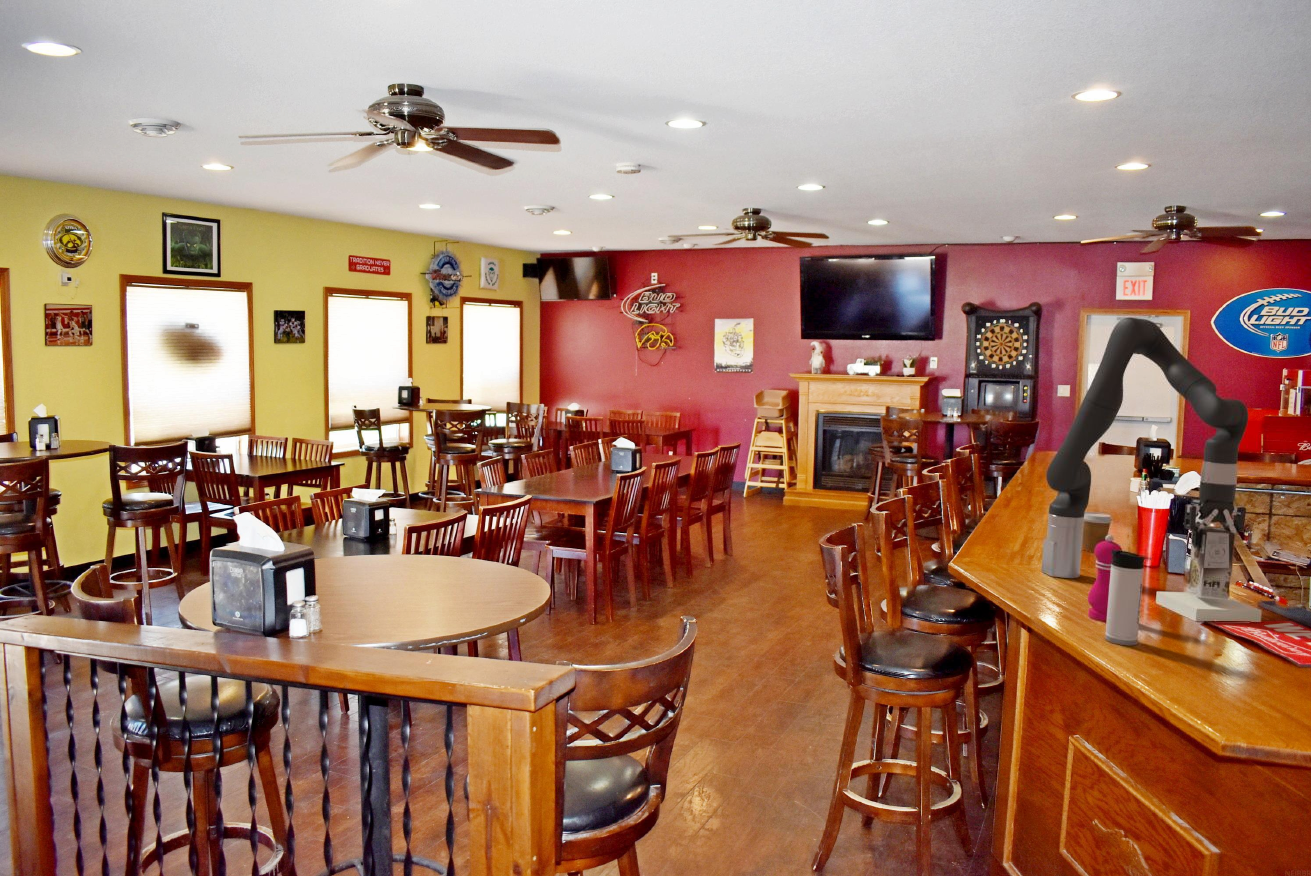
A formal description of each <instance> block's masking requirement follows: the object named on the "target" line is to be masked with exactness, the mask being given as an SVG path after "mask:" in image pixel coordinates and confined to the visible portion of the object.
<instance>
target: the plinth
mask: <svg viewBox="0 0 1311 876" xmlns="http://www.w3.org/2000/svg"><path fill="white" fill-rule="evenodd" d="M1155 604H1157V605H1159V606H1161V607H1164V608H1165V609H1167V610H1170V611H1172V612H1174V613H1177V614H1178V615H1181V616H1183V617H1186V618H1188V619H1190V620H1192V621H1195V622H1204V621H1215V620H1217V621H1251V622H1261V621H1262V609H1260V608H1257V607H1255V606H1252V605H1249V604H1247V603H1245V602H1241V601H1239V600H1236V599H1234V598H1231V597H1229V596H1228V599H1223V598H1213V597H1202V596H1200V595H1198V594H1197V593H1195V592H1193V591H1189V592H1188V591H1156V597H1155Z"/></svg>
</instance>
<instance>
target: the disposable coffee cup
mask: <svg viewBox="0 0 1311 876" xmlns="http://www.w3.org/2000/svg"><path fill="white" fill-rule="evenodd" d="M1112 521H1113V519H1112V515H1110V514H1107V513H1103V512H1095V511H1094V512H1092V511H1085V513H1084V526H1083V538H1082V551H1084V550H1086V551H1085V552H1087V551H1091V552H1090V553H1093V552H1094V550H1095V547H1096V545H1097V544H1098V543H1100V542H1103V541H1106V540H1105V538H1106V536H1107V535H1109V531H1110V527H1111V526H1110V525H1111V523H1112Z"/></svg>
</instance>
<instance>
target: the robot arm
mask: <svg viewBox="0 0 1311 876" xmlns="http://www.w3.org/2000/svg"><path fill="white" fill-rule="evenodd" d="M1134 355H1142V356H1143V357H1145V358H1147V359H1148V360H1150V361H1152V362H1153V363H1154V364H1155V365H1156V366H1158V367H1159V369H1160V370H1161V371H1162V372H1163V374H1164V376H1165V379H1166V380H1167V382H1168V383H1169V385H1170V386H1171V387H1172V388H1173V389H1174V391H1176V392H1177V393H1178V394H1179V395H1180V396H1182V398H1184V400H1186V401H1187V402H1188V403H1189V404H1190V406H1191V408H1192V409H1193V410H1194V412H1195V414H1196V415H1197V416H1198V417H1199V419H1200V420H1201V422H1203V423H1205V424H1206V425H1207V426H1209V427H1211V428H1215V429H1216V431H1215V434H1214V436H1212V437H1209V438H1208V439H1207V440H1206V441H1205V443H1204V450H1203V451H1204V452H1203V461H1202V465H1201V471H1200V482H1199V492H1198V499H1199V502H1198V504H1197V505H1196V504H1190V503H1188V504H1185V511H1184V522H1183V523H1184V525H1183V527H1184V529H1187V530H1190V531H1191V532H1192V533H1191V546H1192V545H1193V547H1196V548H1201V543H1202V533H1201V532H1202V531H1203V529H1204V528H1205V527H1206V526H1209V524H1210V523H1220V525H1221V526H1222V528H1223V529H1226V530H1228V531H1230V532H1233V533H1235V534H1236V533H1238V532H1243V531H1244V529H1245V520H1246V514H1247V513H1246V512H1247V508H1246V507H1244V506H1240V505H1235V506H1234V502H1235V501H1236V491H1237V481H1238V458H1239V457H1238V456H1239V447H1240V444H1241V442H1242V440H1243V438H1244V435H1245V431H1246V428H1247V426H1248V422H1249V410H1248V407H1247V405H1246V404H1245V403H1244V402H1243V401H1241V400H1240V399H1236V398H1222V397H1220V396H1219V395H1218V394H1217V386H1216V385H1215V383H1214V382H1213V381H1212V380H1211V378H1210V379H1209V378H1208V376H1206V375H1205V374H1204V373H1203V372H1202V371H1201V370H1199V369H1198V368H1197V367H1195V365H1193V364H1192V363H1191V362H1190V361H1189V360H1188V359H1187V358H1186V357H1185V356H1184V355H1183V354H1182V353H1181V351H1179V350H1178V349H1177V348H1176V346H1174V344H1173V343H1172V342H1171V341H1170V339H1169V338H1168V337H1167V335H1166V334H1165V333H1164V332H1163V330H1162V329H1161V328H1160V327H1159V326H1158V325H1157V324H1156V323H1155V322H1154V321H1151V320H1149V319H1143V318H1138V317H1124V318H1122V319H1121V320H1120V321H1118V322H1117V323H1116V325H1114V327H1113V329H1112V331H1111V333H1110V336H1109V338H1108V341H1107V343H1106V347H1105V350H1104V353H1103V355H1102V359H1101V360H1100V364H1099V366H1098V368H1097V370H1096V373H1095V375H1094V377H1093V379H1092V382H1091V384H1090V385H1089V388H1088V390H1087V392H1086V394H1085V395H1084V397H1083V400H1082V402H1081V404H1080V406H1079V409H1078V411H1077V413H1076V415H1075V417H1074V419H1073V421H1072V424H1071V426H1070V428H1069V430H1068V432H1067V434H1066V437H1064V438H1065V439H1064V441H1063V442H1062V444H1061V446H1060V447H1059V449H1058V450H1057V452H1056V454H1055V455H1054V457H1053V458H1052V460H1051V461H1050V463H1049V465H1048V467H1047V470H1046V475H1045V476H1046V477H1045V478H1046V482H1047V485H1048V486H1049V488H1051V490H1053V491H1056V492H1057V495H1056V497H1055V499H1054V500H1053V501H1051V503H1050V504H1049V507H1048V516H1047V517H1048V518H1047V530H1046V531H1047V534H1046V538H1044V539H1043V546H1042V556H1041V557H1042V558H1041V560H1042V561H1041V569H1040V570H1041V572H1042V573H1043V574H1045V575H1048V576H1050V577H1056V578H1065V579H1077V578H1079V577H1080V573H1081V563H1082V562H1081V559H1082V551H1083V547H1082V538H1083V526H1084V513H1085V512H1086V509H1087V507H1088V506H1089V501H1090V493H1091V486H1092V471H1091V468H1090V466H1089V464H1088V463H1087V462H1086V461H1085V458H1086V457H1087V455H1088V453H1089V451H1090V450H1091V449H1092V447H1094V445H1095V444H1096V443H1097V442H1098V441H1099V440H1100V439H1101V438H1102V437H1103V435H1104V434H1105V433H1107V431H1108V430H1109V429H1110V428H1111V426H1112V425H1113V423H1114V421H1115V420H1116V417H1117V415H1118V413H1119V411H1120V410H1121V407H1122V405H1123V401H1124V375H1125V371H1126V370H1127V368H1128V365H1129V363H1130V361H1131V359H1132V357H1133V356H1134ZM1198 513H1199V514H1198ZM1197 514H1198V515H1197ZM1232 514H1233V518H1232V517H1231V515H1232Z"/></svg>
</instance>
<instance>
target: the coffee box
mask: <svg viewBox="0 0 1311 876" xmlns="http://www.w3.org/2000/svg"><path fill="white" fill-rule="evenodd" d="M1201 533H1202V543H1201V548H1196V547H1193V545H1192V544H1191V548H1190V559H1189V560H1190V561H1189V572H1188V583H1187V589H1189V590H1191V592H1195V593H1197V594H1198V595H1200V596H1202V597H1213V598H1223V599H1228V597H1229V593H1230V584H1231V583H1230V582H1231V576H1232V575H1231V574H1232V563H1233V558H1234V557H1233V555H1234V547H1235V546H1234V544H1235V536H1236V533H1233V532H1230V531H1228V530H1226V529H1224V527H1220V526H1213V525H1212V526H1209V525H1208V526H1206V527H1205V528H1204V529H1203V531H1202V532H1201Z"/></svg>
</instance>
